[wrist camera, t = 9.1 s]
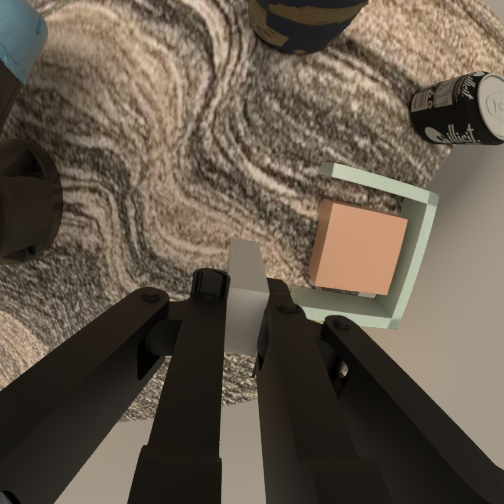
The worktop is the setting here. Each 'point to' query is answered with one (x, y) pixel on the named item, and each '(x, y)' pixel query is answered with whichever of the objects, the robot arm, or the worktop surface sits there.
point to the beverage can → (461, 110)
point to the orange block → (356, 247)
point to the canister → (302, 22)
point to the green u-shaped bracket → (411, 253)
